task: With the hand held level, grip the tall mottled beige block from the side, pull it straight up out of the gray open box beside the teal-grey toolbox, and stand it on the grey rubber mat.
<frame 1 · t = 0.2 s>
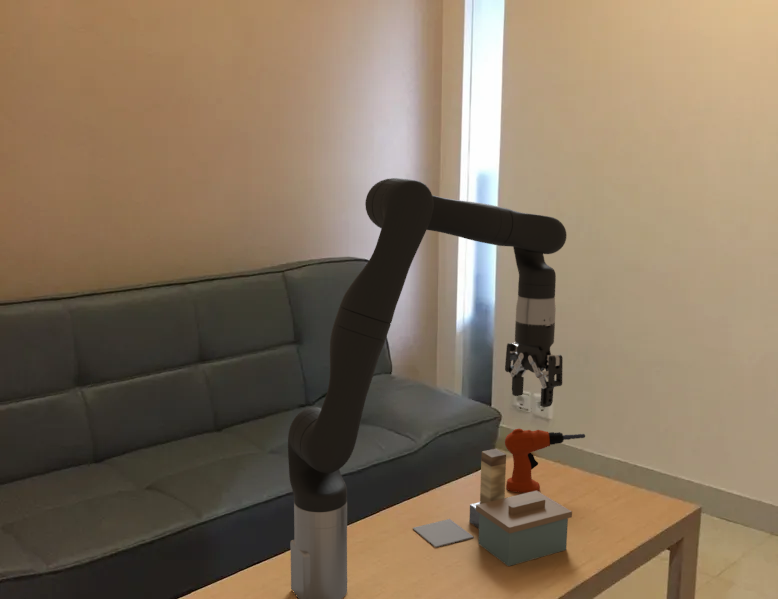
hand: (531, 400, 163), 29 cm above the table, tool pointing down, fingers open, 8 cm apart
gray open box: (491, 525, 173), on the table
mottled beige block: (492, 489, 172), in the gray open box
toolbox: (522, 546, 164), on the table
toy drill: (542, 490, 191), on the table
rubber mat: (442, 533, 170), on the table
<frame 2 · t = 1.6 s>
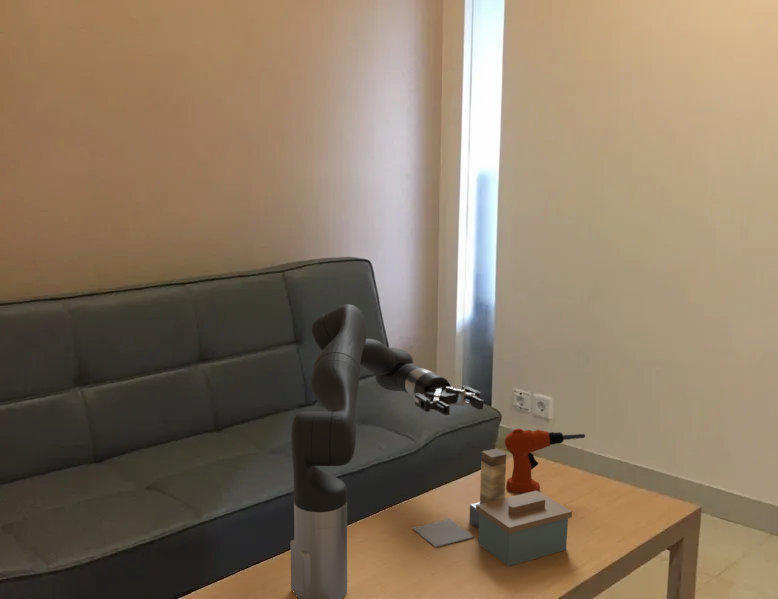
hand: (465, 408, 179), 22 cm above the table, tool horizontal, fingers open, 8 cm apart
nothing on the table moved.
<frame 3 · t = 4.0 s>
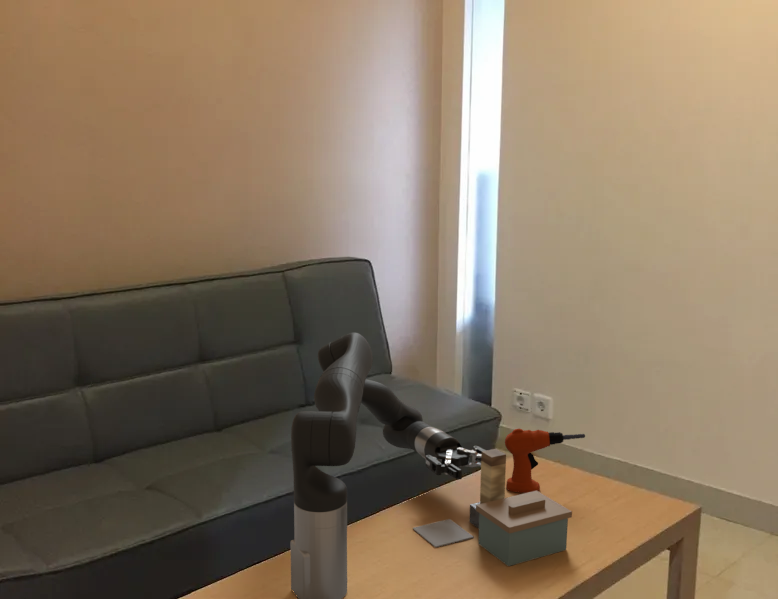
hand: (477, 471, 176), 10 cm above the table, tool horizontal, fingers open, 8 cm apart
nothing on the table moved.
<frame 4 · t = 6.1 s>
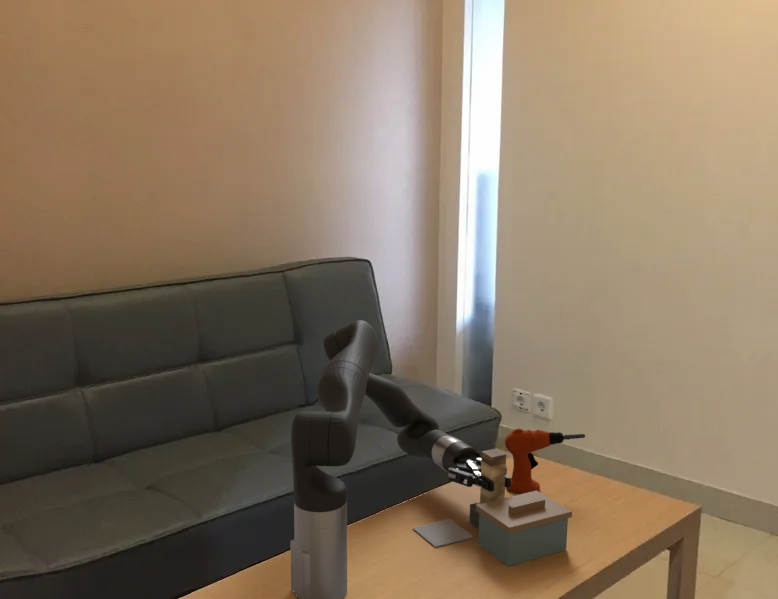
hand: (501, 485, 169), 10 cm above the table, tool horizontal, fingers closed on mottled beige block, 3 cm apart
mottled beige block: (492, 489, 172), in the gray open box, touching gripper
everything else where it was.
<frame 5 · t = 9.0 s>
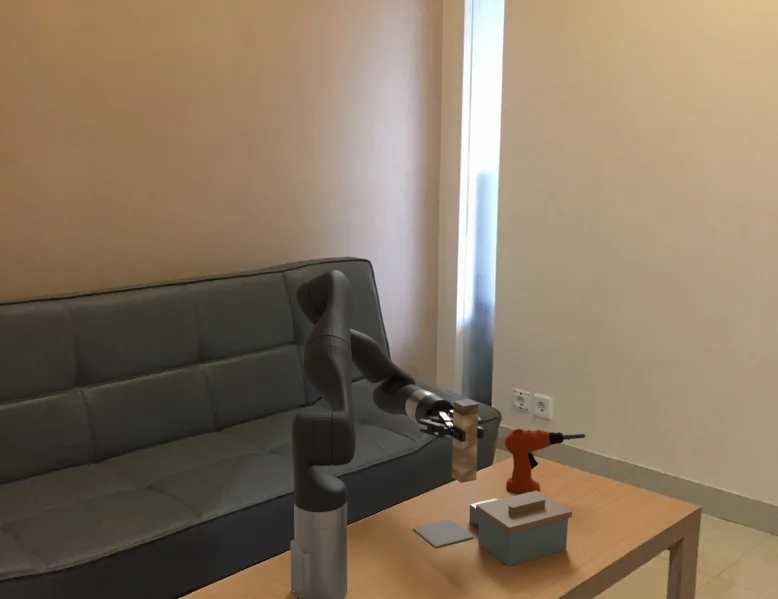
hand: (472, 435, 164), 22 cm above the table, tool horizontal, fingers closed on mottled beige block, 3 cm apart
mottled beige block: (464, 440, 167), point 20 cm above the table, touching gripper
everything else where it was.
when the fingers open (12 cm above the table, at t = 12.1 s): mottled beige block drops 1 cm, resting on rubber mat.
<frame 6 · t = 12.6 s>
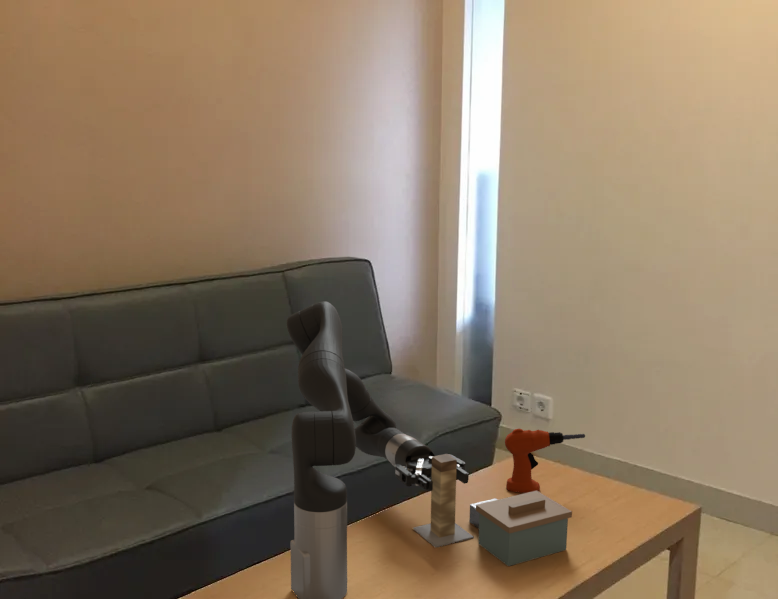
hand: (449, 482, 166), 12 cm above the table, tool horizontal, fingers open, 8 cm apart
mottled beige block: (443, 495, 168), resting on rubber mat
everything else where it was.
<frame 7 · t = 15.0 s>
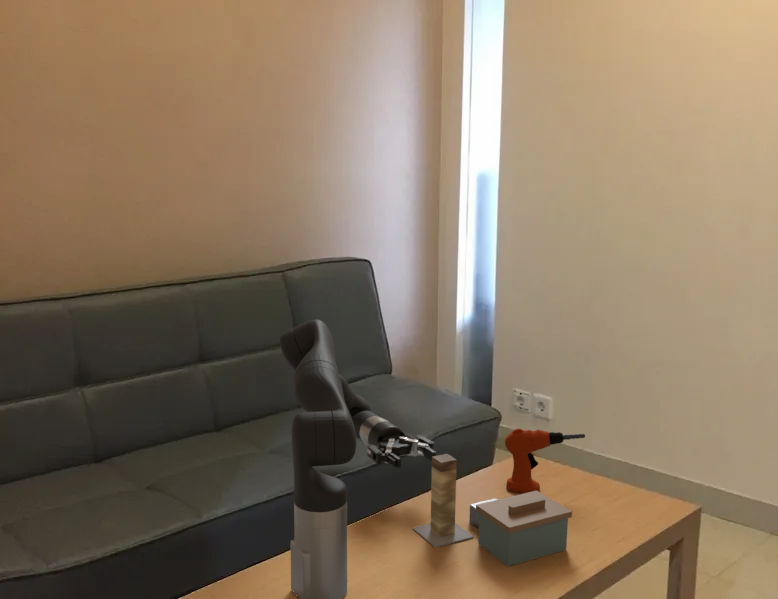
hand: (417, 460, 177), 12 cm above the table, tool horizontal, fingers open, 8 cm apart
nothing on the table moved.
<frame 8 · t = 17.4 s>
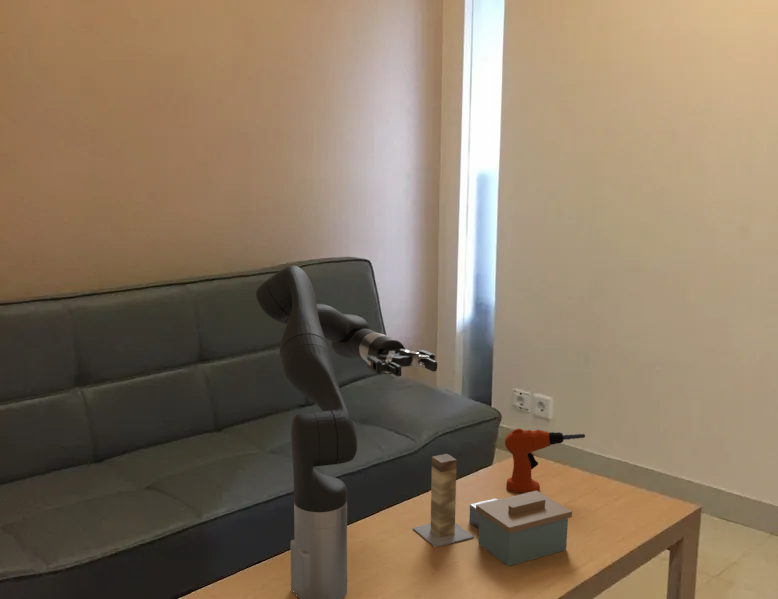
hand: (417, 369, 173), 32 cm above the table, tool horizontal, fingers open, 8 cm apart
nothing on the table moved.
at the end: mottled beige block inside the target area on the rubber mat (0.1 cm from its centre), point 8.3 cm above the rubber mat's base; mottled beige block tilted 0°; the gripper is holding nothing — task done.
